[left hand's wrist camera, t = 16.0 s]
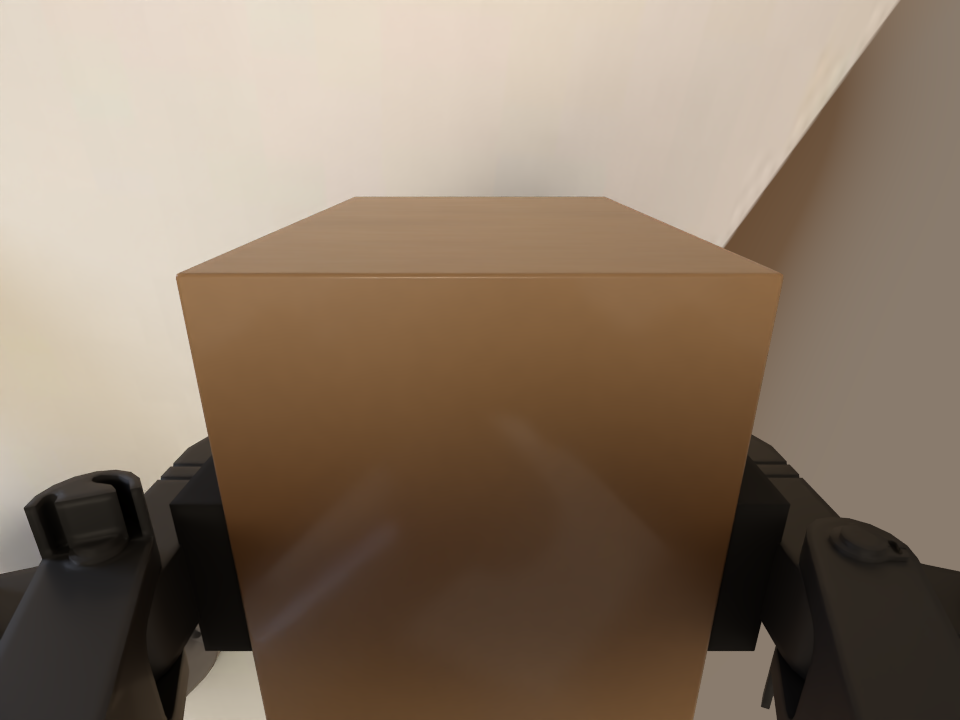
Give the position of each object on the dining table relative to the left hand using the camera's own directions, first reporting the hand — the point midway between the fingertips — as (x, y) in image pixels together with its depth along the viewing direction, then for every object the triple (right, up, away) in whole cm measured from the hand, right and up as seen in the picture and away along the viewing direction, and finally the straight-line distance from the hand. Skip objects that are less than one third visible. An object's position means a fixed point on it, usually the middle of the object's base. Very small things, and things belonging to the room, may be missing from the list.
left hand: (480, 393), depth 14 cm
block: (0, +1, +3) cm, 3 cm away
